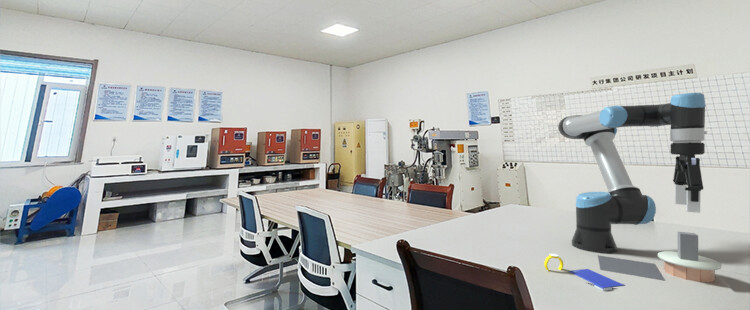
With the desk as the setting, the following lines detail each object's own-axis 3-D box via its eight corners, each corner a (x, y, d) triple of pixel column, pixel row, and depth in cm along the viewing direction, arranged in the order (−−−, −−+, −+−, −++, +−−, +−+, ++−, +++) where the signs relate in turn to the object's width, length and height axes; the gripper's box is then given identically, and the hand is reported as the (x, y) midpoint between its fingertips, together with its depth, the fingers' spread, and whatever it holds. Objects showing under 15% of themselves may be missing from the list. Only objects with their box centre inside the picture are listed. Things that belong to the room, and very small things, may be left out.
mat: (600, 271, 100) (600, 269, 100) (597, 257, 113) (597, 255, 113) (665, 283, 91) (665, 280, 91) (654, 266, 104) (654, 263, 104)
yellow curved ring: (559, 270, 102) (560, 253, 102) (564, 274, 99) (565, 256, 99) (542, 270, 102) (543, 253, 102) (547, 273, 99) (548, 256, 99)
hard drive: (567, 270, 99) (602, 287, 87) (588, 268, 100) (625, 284, 88) (568, 275, 99) (602, 292, 87) (588, 273, 100) (625, 289, 88)
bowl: (668, 279, 93) (668, 263, 93) (660, 267, 102) (660, 253, 102) (720, 287, 87) (720, 270, 87) (707, 274, 96) (706, 259, 96)
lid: (663, 264, 93) (663, 235, 93) (653, 251, 105) (653, 225, 104) (730, 273, 85) (729, 242, 85) (711, 258, 97) (711, 231, 97)
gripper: (719, 141, 82) (719, 217, 83) (691, 141, 102) (691, 202, 103) (681, 142, 86) (681, 214, 87) (662, 142, 107) (661, 200, 107)
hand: (686, 208), depth 95 cm, fingers open, 13 cm apart
